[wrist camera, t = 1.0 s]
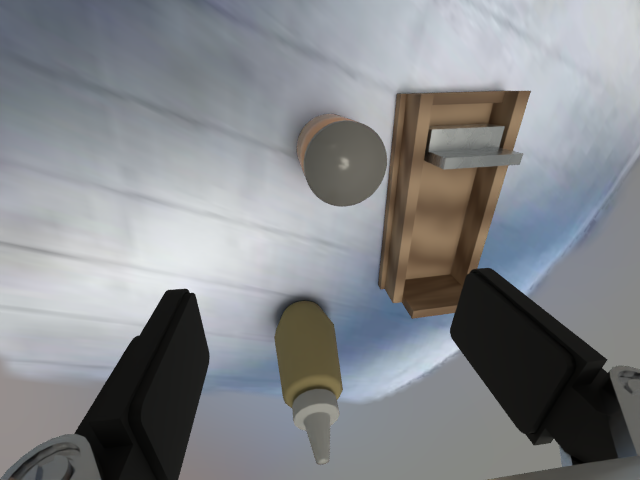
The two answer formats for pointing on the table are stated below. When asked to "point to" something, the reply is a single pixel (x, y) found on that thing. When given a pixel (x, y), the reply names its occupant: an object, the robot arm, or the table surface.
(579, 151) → the table surface
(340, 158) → the jar
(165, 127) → the table surface
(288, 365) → the squeeze bottle
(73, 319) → the table surface
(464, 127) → the plate
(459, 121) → the wooden tray
